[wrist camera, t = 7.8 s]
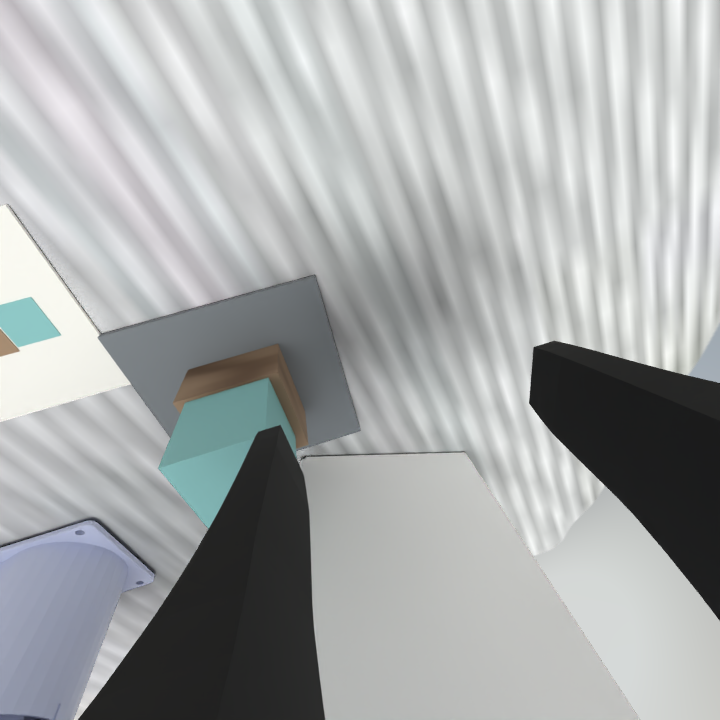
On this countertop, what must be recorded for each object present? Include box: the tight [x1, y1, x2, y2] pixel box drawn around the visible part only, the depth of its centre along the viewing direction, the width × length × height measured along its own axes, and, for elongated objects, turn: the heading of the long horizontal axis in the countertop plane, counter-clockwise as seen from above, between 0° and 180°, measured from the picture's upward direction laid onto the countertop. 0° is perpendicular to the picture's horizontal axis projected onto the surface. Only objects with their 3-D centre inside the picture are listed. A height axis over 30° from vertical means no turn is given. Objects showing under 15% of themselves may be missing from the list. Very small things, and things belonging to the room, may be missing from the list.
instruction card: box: [0, 205, 131, 422], centre depth 15 cm, size 7×9×1 cm
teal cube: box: [158, 378, 297, 529], centre depth 15 cm, size 4×4×4 cm
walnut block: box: [173, 344, 308, 449], centre depth 18 cm, size 5×5×3 cm
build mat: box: [97, 275, 360, 451], centre depth 19 cm, size 11×11×1 cm
